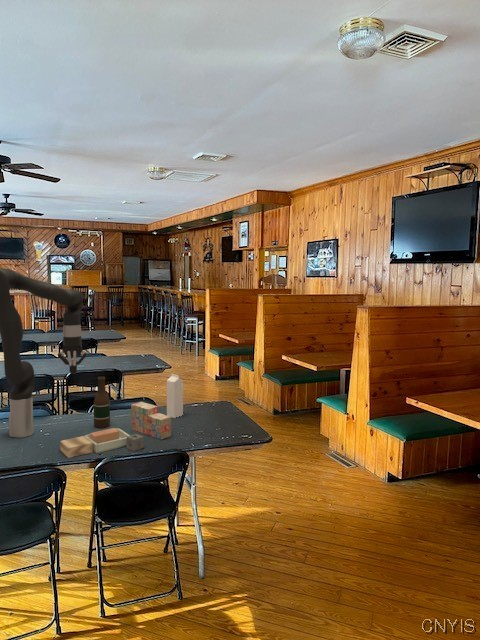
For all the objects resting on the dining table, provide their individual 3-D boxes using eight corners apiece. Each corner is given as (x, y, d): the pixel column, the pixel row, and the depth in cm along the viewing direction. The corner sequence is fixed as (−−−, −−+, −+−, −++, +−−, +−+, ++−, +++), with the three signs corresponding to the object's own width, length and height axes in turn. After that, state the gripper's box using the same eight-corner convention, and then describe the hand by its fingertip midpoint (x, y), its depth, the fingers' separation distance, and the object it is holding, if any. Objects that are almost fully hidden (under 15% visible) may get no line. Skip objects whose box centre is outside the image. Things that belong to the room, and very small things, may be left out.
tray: (96, 453, 189) (96, 445, 189) (83, 443, 200) (83, 435, 200) (132, 444, 199) (132, 436, 199) (118, 435, 210) (118, 427, 210)
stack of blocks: (171, 436, 210) (171, 410, 209) (160, 440, 205) (160, 413, 204) (141, 425, 224) (141, 401, 222) (131, 429, 219) (130, 403, 218)
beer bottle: (105, 429, 218) (104, 379, 215) (90, 427, 220) (89, 378, 217) (113, 423, 226) (112, 375, 223) (98, 422, 227) (98, 374, 225)
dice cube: (136, 444, 199) (136, 433, 199) (143, 448, 196) (143, 436, 195) (127, 448, 196) (126, 436, 195) (134, 451, 192) (133, 439, 192)
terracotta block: (94, 436, 193) (119, 431, 200) (90, 433, 197) (114, 427, 204) (94, 447, 193) (119, 442, 200) (90, 444, 197) (114, 438, 204)
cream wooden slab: (68, 458, 184) (68, 448, 184) (60, 450, 192) (60, 440, 192) (92, 452, 190) (92, 442, 190) (84, 444, 198) (83, 435, 198)
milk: (174, 418, 235) (174, 376, 233) (166, 415, 240) (166, 374, 237) (183, 415, 240) (183, 374, 237) (175, 413, 244) (175, 372, 241)
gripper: (89, 333, 207) (90, 371, 209) (58, 334, 205) (59, 372, 207) (86, 336, 200) (87, 375, 202) (54, 336, 198) (55, 376, 200)
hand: (73, 373), depth 204 cm, fingers closed
